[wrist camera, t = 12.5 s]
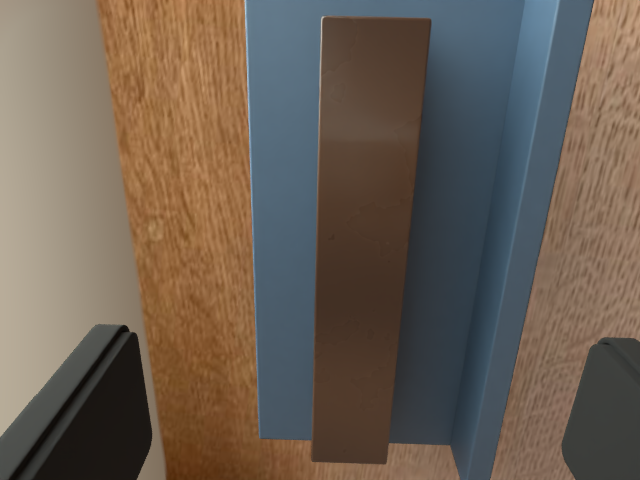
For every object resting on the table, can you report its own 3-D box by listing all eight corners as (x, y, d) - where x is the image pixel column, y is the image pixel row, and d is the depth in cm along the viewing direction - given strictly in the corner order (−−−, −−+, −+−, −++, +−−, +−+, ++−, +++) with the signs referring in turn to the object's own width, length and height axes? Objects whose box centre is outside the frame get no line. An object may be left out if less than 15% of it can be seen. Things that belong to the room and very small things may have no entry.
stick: (322, 22, 15) (320, 14, 12) (413, 24, 15) (432, 17, 12) (313, 409, 21) (311, 462, 18) (379, 411, 21) (386, 465, 18)
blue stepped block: (280, 325, 31) (250, 485, 19) (277, -10, 24) (225, -74, 12) (429, 329, 31) (487, 493, 19) (472, -6, 24) (609, -66, 12)
